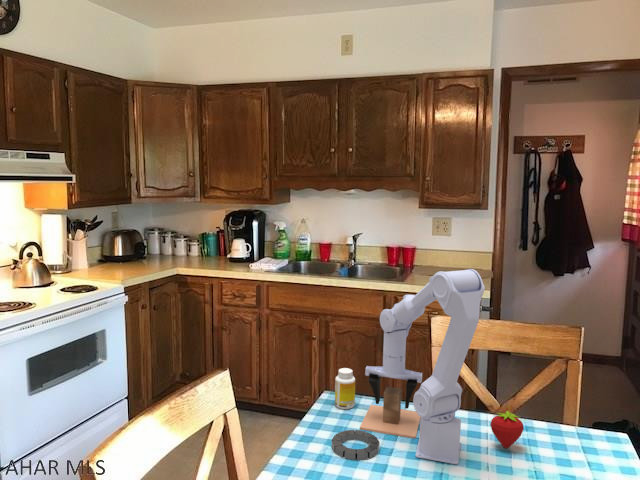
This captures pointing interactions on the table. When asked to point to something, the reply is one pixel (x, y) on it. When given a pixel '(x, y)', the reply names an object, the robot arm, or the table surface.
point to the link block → (392, 405)
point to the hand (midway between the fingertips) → (392, 404)
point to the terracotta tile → (404, 428)
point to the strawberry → (506, 428)
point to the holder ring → (355, 453)
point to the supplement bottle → (345, 389)
